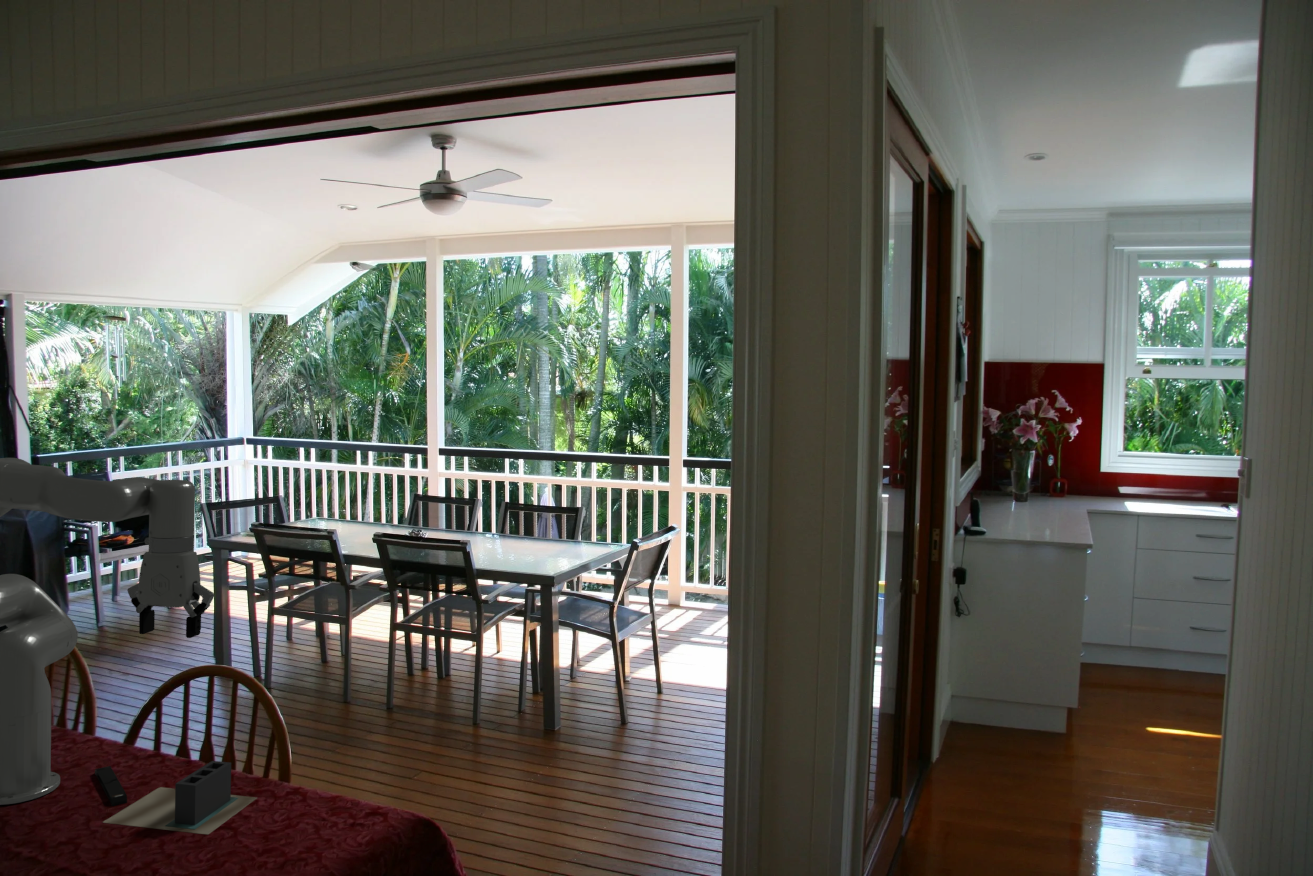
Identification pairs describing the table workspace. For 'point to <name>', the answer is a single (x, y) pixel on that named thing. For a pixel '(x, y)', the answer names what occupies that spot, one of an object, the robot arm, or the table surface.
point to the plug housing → (202, 792)
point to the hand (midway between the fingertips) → (169, 634)
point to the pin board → (161, 813)
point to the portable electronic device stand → (111, 785)
